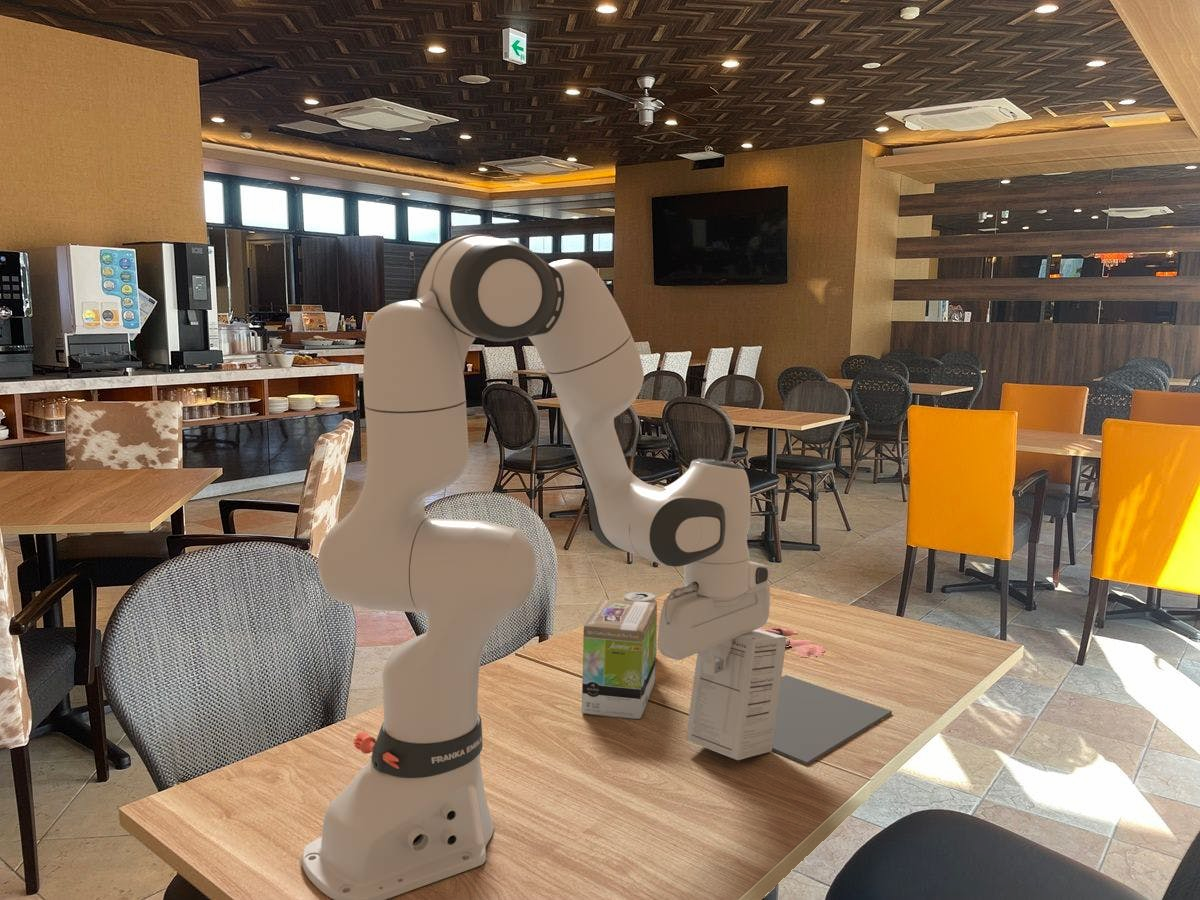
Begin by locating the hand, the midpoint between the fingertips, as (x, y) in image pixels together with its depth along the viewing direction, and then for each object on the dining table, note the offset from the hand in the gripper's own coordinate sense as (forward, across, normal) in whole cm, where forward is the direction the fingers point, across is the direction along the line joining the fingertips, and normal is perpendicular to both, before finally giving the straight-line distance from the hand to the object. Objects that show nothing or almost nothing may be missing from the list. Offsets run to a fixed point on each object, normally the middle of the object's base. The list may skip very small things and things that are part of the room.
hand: (714, 671), depth 124 cm
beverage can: (+14, +20, +34) cm, 42 cm away
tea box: (+14, +6, +24) cm, 28 cm away
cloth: (+15, +46, +23) cm, 53 cm away
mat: (+14, +21, 0) cm, 25 cm away
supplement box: (+13, +4, 0) cm, 13 cm away
